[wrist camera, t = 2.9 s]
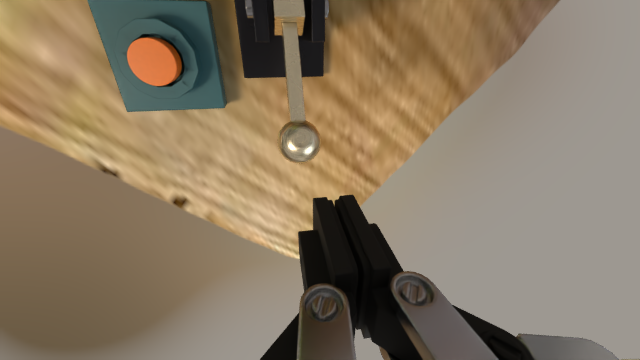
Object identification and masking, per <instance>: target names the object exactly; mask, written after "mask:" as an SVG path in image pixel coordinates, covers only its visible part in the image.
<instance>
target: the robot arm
mask: <svg viewBox="0 0 640 360" xmlns="http://www.w3.org/2000/svg"><path fill="white" fill-rule="evenodd" d="M298 238H299V254H300V264H301V271H302V278H303V286H304V294H303V295H302V297H301V301H300V308H299V313H298V315H297V316H296V317H295V318H294V319H293V321H292V322H291V323H290V324H289V325H288V327H287V328H286V329H285V330H284V332H283V333H282V334H281V335H280V336H279V338H278V339H277V340H276V341H275V342H274V343H273V344H272V346H271V347H270V348H269V349H268V350H267V352H266V353H265V354H264V355H263V357H262V358H261V359H260V360H356V354H355V347H354V336H355V328H356V329H357V330H358V329H361V331H362V334H363V337H364V338H370V337H371V340H372V342H374V343H375V344H377V345H378V346H379V349H380V352H381V355H382V357H383V359H384V360H619V359H618V358H617V357H616V356H615V355H614V354H613V353H612V352H610V351H609V350H607V349H606V348H604V347H603V346H601V345H599V344H597V343H595V342H593V341H591V340H587V339H583V338H574V337H560V336H546V335H532V334H518V336H517V337H515V336H513V335H512V334H510V333H508V332H507V331H505V330H503V329H501V328H499V327H497V326H495V325H493V324H490V323H488V322H486V321H484V320H482V319H480V318H478V317H476V316H474V315H472V314H470V313H468V312H466V311H464V310H461V309H459V308H458V307H456V306H454V305H451V303H450V302H449V301H448V300H447V299H446V297H445V296H444V295H443V294H442V293H441V292H440V290H439V289H438V288H437V287H436V286H435V285H434V283H432V282H431V281H430V280H429V279H428V278H427V277H425V276H423V275H421V274H419V273H416V272H409V271H407V272H404V271H403V269H402V268H401V266H400V264H399V263H398V261H397V259H396V257H395V255H394V254H393V252H392V250H391V248H390V247H389V245H388V243H387V241H386V240H385V238H384V236H383V234H382V233H381V231H380V229H379V227H378V226H377V225H376V224H374V223H373V224H369V223H368V222H367V220H366V218H365V216H364V214H363V212H362V210H361V208H360V207H359V205H358V203H357V201H356V199H355V197H354V196H353V195H344V196H340V197H339V199H338V200H335V207H334V204H333V202H332V200H328V199H327V197H322V198H313V230H309V231H300V232H298ZM622 360H640V359H622Z"/></svg>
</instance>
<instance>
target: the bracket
mask: <svg viewBox="0 0 640 360" xmlns="http://www.w3.org/2000/svg"><path fill="white" fill-rule="evenodd" d="M304 5H305V22H304V28H303V35H298V40H299V51H300V63H301V74H302V77H313V76H323V65H324V41H325V20H326V19H327V18H328V14H329V1H328V0H304ZM235 8H236V16H237V24H238V31H239V39H240V47H241V54H242V62H243V70H244V78H267V77H286V74H285V62H284V50H283V39H282V35H274V24H273V12H272V0H235Z"/></svg>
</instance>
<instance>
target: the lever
mask: <svg viewBox="0 0 640 360" xmlns="http://www.w3.org/2000/svg"><path fill="white" fill-rule="evenodd" d="M272 12H273V24H274V35H282V39H283V50H284V62H285V74H286V85H287V97H288V108H289V120H290V122H288V123H287V124H285V125H284V126H283V127H282V129H281V130H280V132H279V135H278V139H277V143H278V148H279V151H280V152H281V154H282V155H283V157H284V158H286V159H287V160H289V161H290V162H293V163H305V162H308V161H310V160H312V159H313V158H314V157H315V156H316V155H317V153H318V152H319V149H320V146H321V138H320V134H319V132H318V130H317V129H316V127H315V126H314V125H312V124H311V123H310V122H308V121H306V120H305V109H304V97H303V86H302V74H301V63H300V51H299V40H298V35H303V28H304V22H305V5H304V0H272Z"/></svg>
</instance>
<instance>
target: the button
mask: <svg viewBox="0 0 640 360" xmlns="http://www.w3.org/2000/svg"><path fill="white" fill-rule="evenodd" d="M127 60H128V64H129V66H130V68H131V70H132V71H133V73H134V74H135V75H136V76H137V77H138V78H139V79H140V80H142V81H143V82H145V83H147V84H150V85H153V86H164V85H167V84H169V83H171V82H173V81H175V80H176V79H177V78H178V77H179V75H180V73H181V70H182V62H181V58H180V56H179V54H178V52H177V51H176V49H175V48H174V47H173V46H172V45H171V44H169V43H168V42H166V41H165V40H162V39H160V38H155V37H147V38H139V39H137V40H135V41H133V42H132V43H131V45H130V46H129V48H128V51H127Z"/></svg>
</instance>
